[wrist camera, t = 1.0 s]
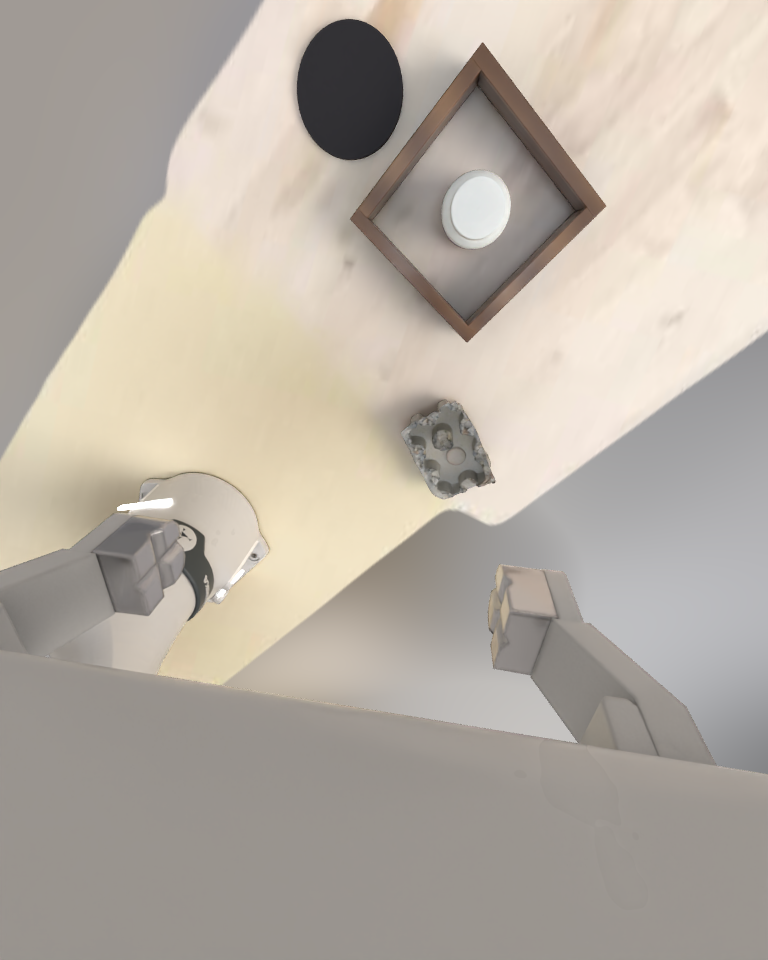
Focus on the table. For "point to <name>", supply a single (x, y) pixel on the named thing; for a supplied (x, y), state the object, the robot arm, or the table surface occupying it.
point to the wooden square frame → (536, 140)
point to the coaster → (350, 89)
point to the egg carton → (448, 451)
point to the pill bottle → (476, 209)
